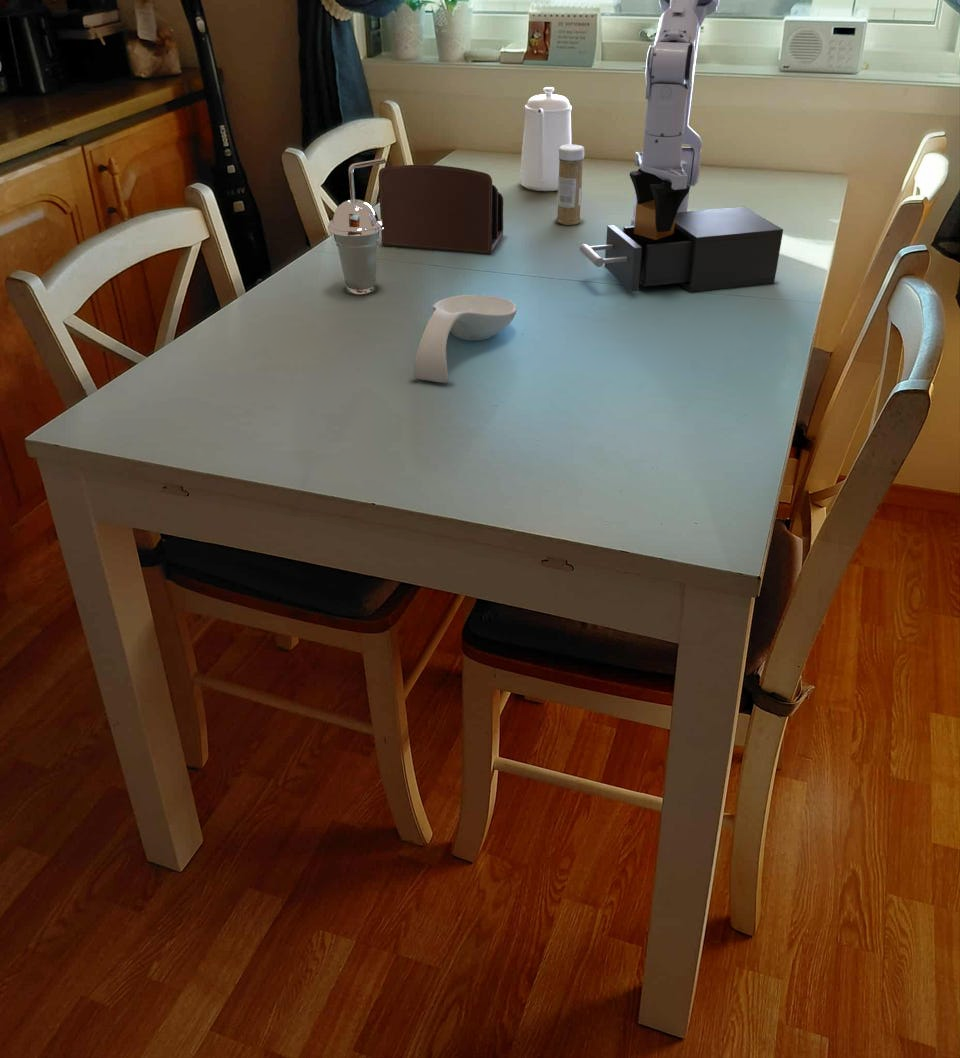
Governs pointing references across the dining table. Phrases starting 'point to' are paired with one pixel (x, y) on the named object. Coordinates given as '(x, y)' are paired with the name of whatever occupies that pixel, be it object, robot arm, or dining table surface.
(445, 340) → the spoon rest
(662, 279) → the dark grey drawer
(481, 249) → the letter holder
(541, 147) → the coffeepot
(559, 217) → the spice jar
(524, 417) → the dining table surface
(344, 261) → the cup with straw
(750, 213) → the black drawer cabinet
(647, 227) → the block
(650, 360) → the dining table surface
